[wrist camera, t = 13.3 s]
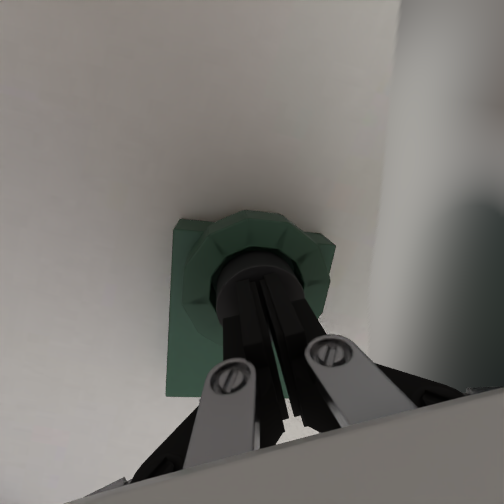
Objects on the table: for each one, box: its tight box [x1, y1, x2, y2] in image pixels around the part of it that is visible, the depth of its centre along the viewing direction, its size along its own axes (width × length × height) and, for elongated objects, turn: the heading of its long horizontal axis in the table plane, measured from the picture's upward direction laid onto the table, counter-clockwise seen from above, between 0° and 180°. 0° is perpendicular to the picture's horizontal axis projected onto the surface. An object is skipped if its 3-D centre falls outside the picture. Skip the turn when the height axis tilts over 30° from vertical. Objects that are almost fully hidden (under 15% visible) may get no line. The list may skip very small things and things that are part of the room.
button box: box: [166, 210, 336, 398], centre depth 15 cm, size 11×8×4 cm
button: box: [216, 251, 305, 342], centre depth 12 cm, size 4×4×2 cm
